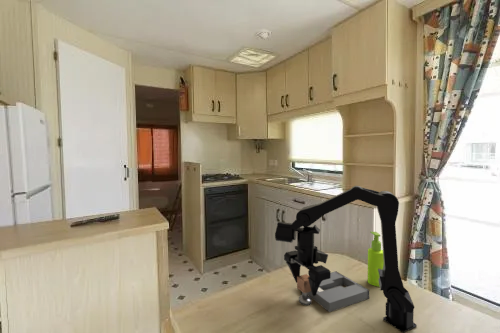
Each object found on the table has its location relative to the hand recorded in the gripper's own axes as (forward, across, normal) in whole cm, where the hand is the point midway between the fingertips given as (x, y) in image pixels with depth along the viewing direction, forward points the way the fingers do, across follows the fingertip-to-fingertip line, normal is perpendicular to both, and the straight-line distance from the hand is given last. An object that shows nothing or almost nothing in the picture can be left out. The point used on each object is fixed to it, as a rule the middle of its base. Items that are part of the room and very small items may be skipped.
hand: (305, 288), depth 84 cm
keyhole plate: (+5, 0, -12) cm, 13 cm away
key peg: (+5, 0, 0) cm, 5 cm away
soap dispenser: (+5, -1, -34) cm, 34 cm away
